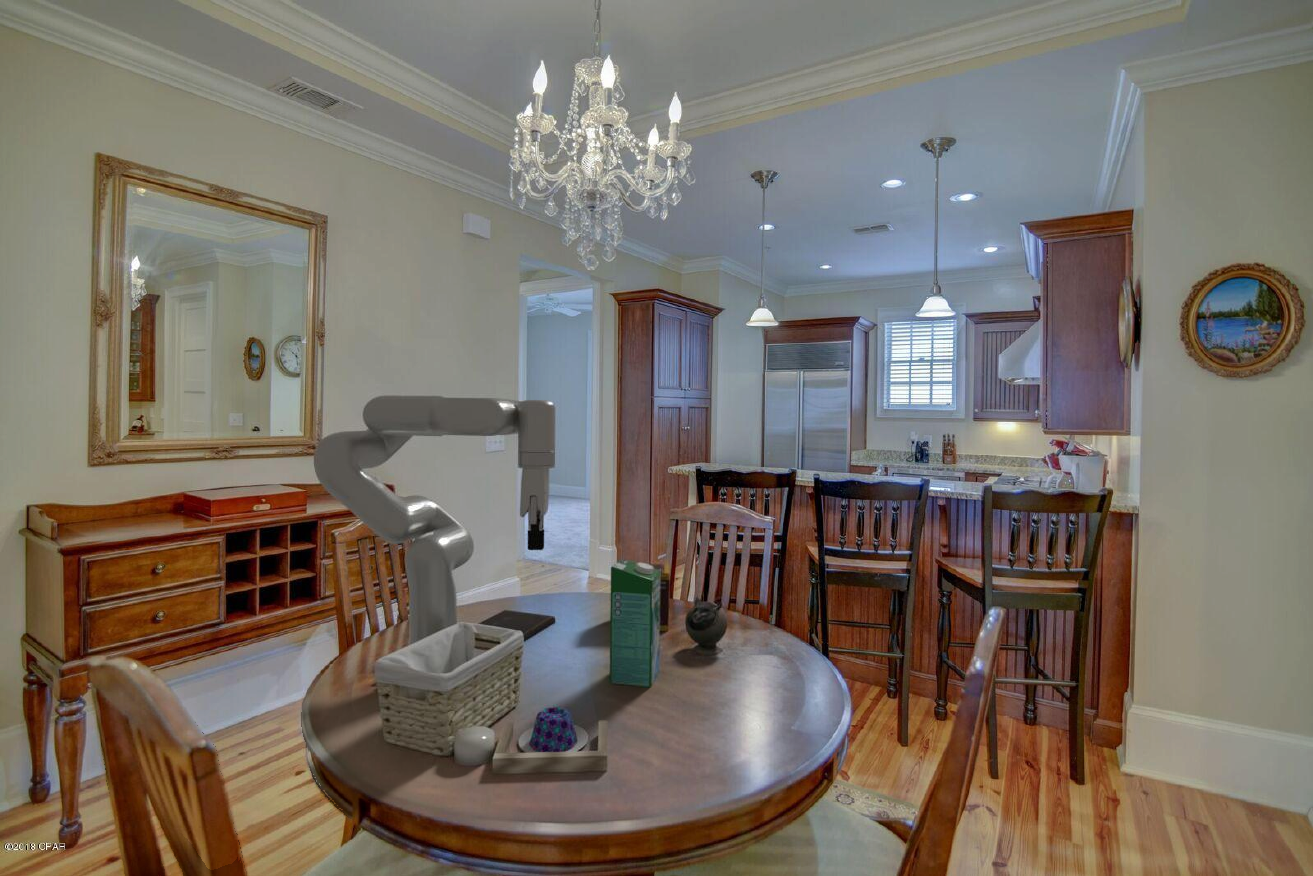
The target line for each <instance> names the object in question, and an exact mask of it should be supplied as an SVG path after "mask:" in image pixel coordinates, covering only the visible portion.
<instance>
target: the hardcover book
mask: <svg viewBox="0 0 1313 876" xmlns="http://www.w3.org/2000/svg"><path fill="white" fill-rule="evenodd" d="M477 624H482V625H488V626H495V627H501V628H506V629H512V630H516V631H518V630H519V631H521V632H522V633H523V638H524V643H525V642H527V641H528V640H529V639H531V638H533V637H535V636H536V635H538V634H540V633H541V632H543V631H544V630H546V629H547V628H549V627H551V626H553V625H554V624H556V618H555V616H554V615H547V614H541V613H540V614H538V613H531V612H523V611H516V610H508V609H504V610H502V611H500V612H498V613H496V614H495V615H492V616H491V617H488V618H487V619H485V620H483V621H480V622H479V623H477ZM499 644H500V642H499V641H493V640H488V639H481V638H475V647H480V648H487V649H492V648H493V647H495V646H497V645H499Z"/></svg>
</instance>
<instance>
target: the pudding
mask: <svg viewBox="0 0 1313 876" xmlns="http://www.w3.org/2000/svg"><path fill="white" fill-rule="evenodd" d="M588 741H589V735H588V733H587V730H585V729H584V728H583V727H581V726H579V725H576V724H574V721H573V716H572V714H571V712H569V710H568V709H566V708H565V707H559V706H553V707H547V708H544V709H543V710H540V711H539V712H538V713H537V715H536V717H535V722H534V726H533V727H530V728H529V729H526V730H525V731H524V732H523V733H521V735H520V736H519V738H518V741H517V742H518V743H517V744H518V747H519V748H520V749H521V751H523V752H524V753H535V752H573V751H579V750H581V749H582V748H583V747H585V745H586V744H587V743H588ZM574 744H575V745H574ZM536 750H537V751H536Z"/></svg>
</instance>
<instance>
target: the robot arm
mask: <svg viewBox="0 0 1313 876" xmlns="http://www.w3.org/2000/svg"><path fill="white" fill-rule="evenodd" d="M555 406H556V405H555V403H554V402H552V401H550V400H545V399H544V400H543V399H541V400H540V399H539V400H538V399H530V400H529V399H527V400H522V401H519V400H515V399H507V398H498V397H445V396H441V395H402V394H401V395H393V394H392V395H391V394H389V395H379V396H376V397H373V398H371V399H370V400H369V401H368V402H367V403H366V404H365V406H364V407H363V410H362V419H363V420H362V421H363V422H364V424H365V426H366V427H367V429H366V430H351V431H348V430H346V431H339V432H334V433H330V434H329V435H326V436H325V437H324V438H322V439H321V440H320V441H319V442H318V443H317V445H316V447H315V449H314V450H315V451H314V454H313V467H314V472H315V475H316V478H317V479H318V481H319V483H320V485H321V486H322V487H323V488H324V489H325V491H326V492H328V493H329V494H330V495H331V496H332V497H333V498H334V499H335V500H337V501H338V502H339V503H341V505H343V506H344V507H345V508H347V509H348V510H349V511H350V512H351V513H352V514H353V515H354V516H355V517H356V518H358V519H359V520H360V521H361V522H362V523H363V524H365V526H367V527H368V528H369V529H370V530H371V531H373V533H375V534H376V536H378V537H379V538H380V539H381V540H383V541H384V542H386V543H388V544H391V545H399V544H403V543H406V542H409V541H412V542H410V544H409V545H408V547H407V548H406V551H405V555H404V568H405V572H406V579H407V584H408V604H409V605H408V612H409V613H408V616H409V617H408V619H409V624H408V626H409V630H408V631H409V633H408V635H409V636H408V638H409V639H408V640H409V641H408V644H409V645H411V644H413V643H416V642H418V641H420V640H422V639H424V638H426V637H428V636H430V635H432V634H435V633H437V632H439V631H441V630H443V629H446V628H448V627H450V626H453V625H455V624H457V623H458V621H457V618H458V615H457V614H458V613H457V611H458V605H457V603H458V602H457V600H458V599H457V598H458V597H457V587H456V584H455V581H454V577H453V576H454V575H453V571H454V570H456V569H458V568H459V567H462V566H463V565H465V564H466V563H467V562H468V561H470V559H471V558H472V555H473V553H474V549H475V543H474V539H473V537H472V536H471V534H470V532H469V530H467V529H466V528H465V527H464V526H463V525H462V524H461V523H459V522H458V521H457V520H456V519H455V517H453V516H452V515H451V514H450V513H448V512H447V511H446V510H445V509H444V508H442V507H441V506H440V505H439V504H438V503H437V502H435V501H434V500H432V499H431V498H428V497H426V496H423V495H416V494H414V495H407V496H399V495H398V494H396V493H395V492H393V491H392V489H390V488H389V487H387V486H386V484H385V483H384V482H382V481H381V480H380V479H378V478H376V477H374V476H372V475H371V474H369V473H367V472H365V471H364V470H365V469H372V468H373V469H374V468H376V467H379V466H382V465H383V464H385V463H386V462H387V461H389V460H390V459H391V458H392V457H393V456H394V455H395V454H396V453H398V452H399V450H400V449H401V448H402V447H404V445H405V444H406V443H407V442H408V441H410V440H411V438H413V437H414V436H416V437H419V436H420V437H422V436H423V437H442V436H463V437H464V436H465V437H466V436H467V437H468V436H470V437H471V436H473V437H495V436H510V435H517V468H518V469H522V470H521V482H520V502H519V503H520V504H519V516H520V517H521V518H525V516H526V515H528V516H527V521H528V523H527V524H528V526H527V528H528V529H527V550H528V551H543V550H544V548H545V529H544V527H545V525H544V521H545V520H544V518H545V517H544V516H545V515H547V512H548V509H549V499H550V469H554V468H556V407H555ZM409 645H408V646H409Z"/></svg>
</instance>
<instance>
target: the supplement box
mask: <svg viewBox="0 0 1313 876" xmlns="http://www.w3.org/2000/svg"><path fill="white" fill-rule="evenodd" d="M648 564H649V563H648ZM649 565H651V566H653V567H654V568H655V569H658V570H661V582H660V632H668V631H669V623H670V621H669V619H670V618H669V617H670V588H671V587H670V583H671V581H670V579H671V578H670V577H671V575H670V574H671V573H670V572H671V571H670V564H649Z"/></svg>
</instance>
